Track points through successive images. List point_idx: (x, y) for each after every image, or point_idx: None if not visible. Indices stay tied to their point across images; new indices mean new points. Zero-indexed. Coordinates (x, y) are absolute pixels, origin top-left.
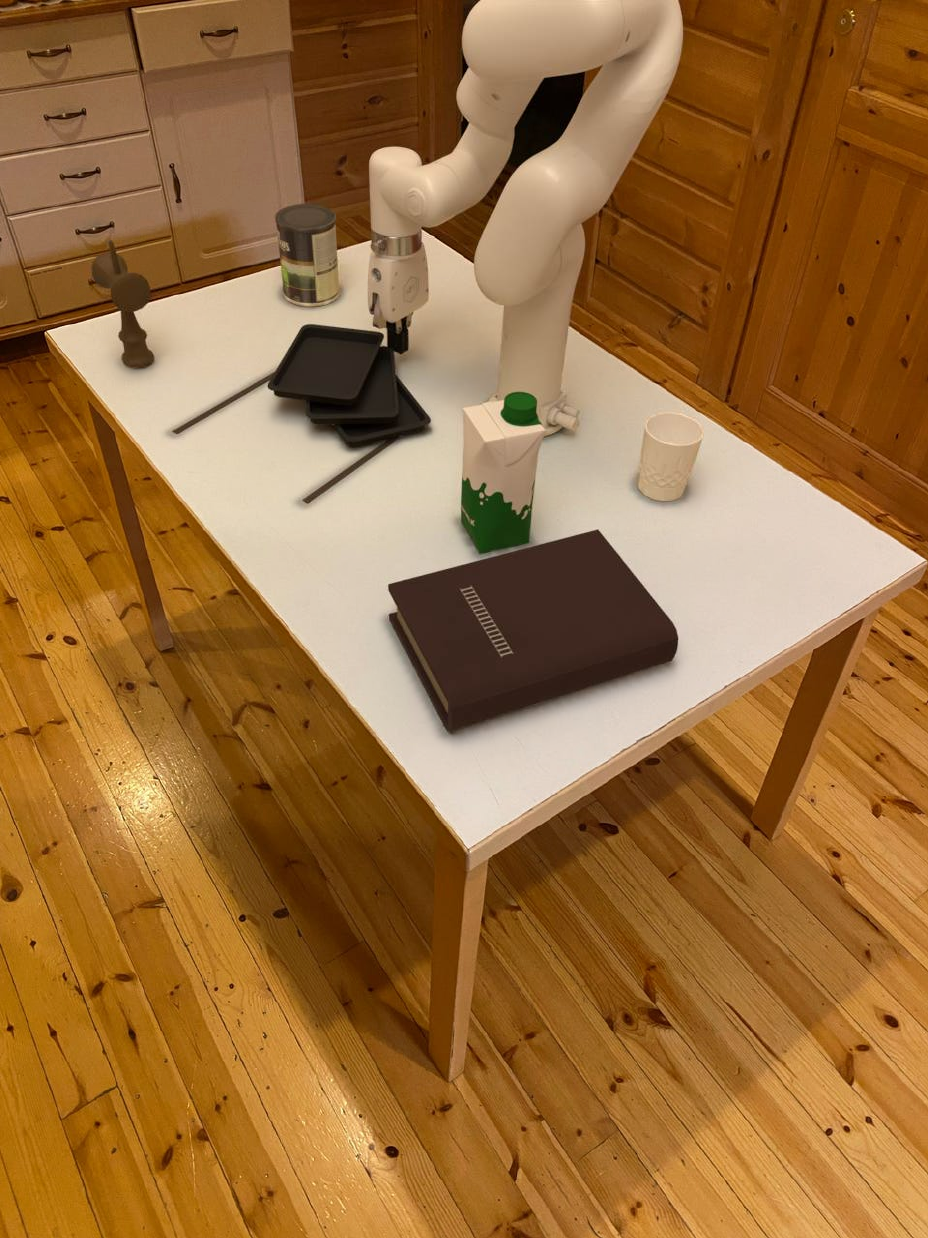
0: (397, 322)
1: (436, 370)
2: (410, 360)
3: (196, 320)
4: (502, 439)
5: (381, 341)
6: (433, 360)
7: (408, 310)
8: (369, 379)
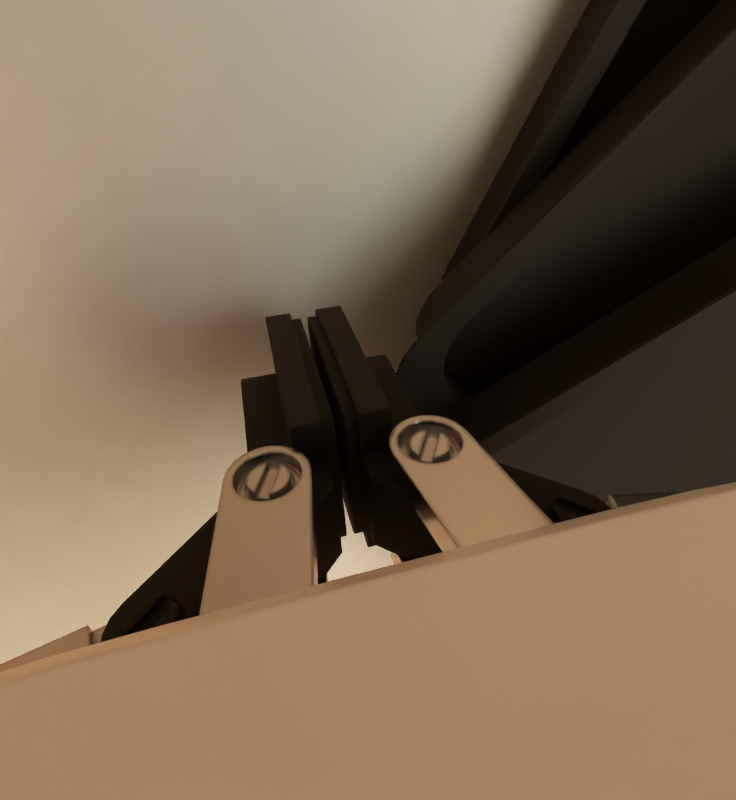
0: (503, 504)
1: (130, 33)
2: (214, 294)
3: None
4: None
5: (506, 428)
6: (57, 180)
7: (556, 623)
8: (662, 233)
